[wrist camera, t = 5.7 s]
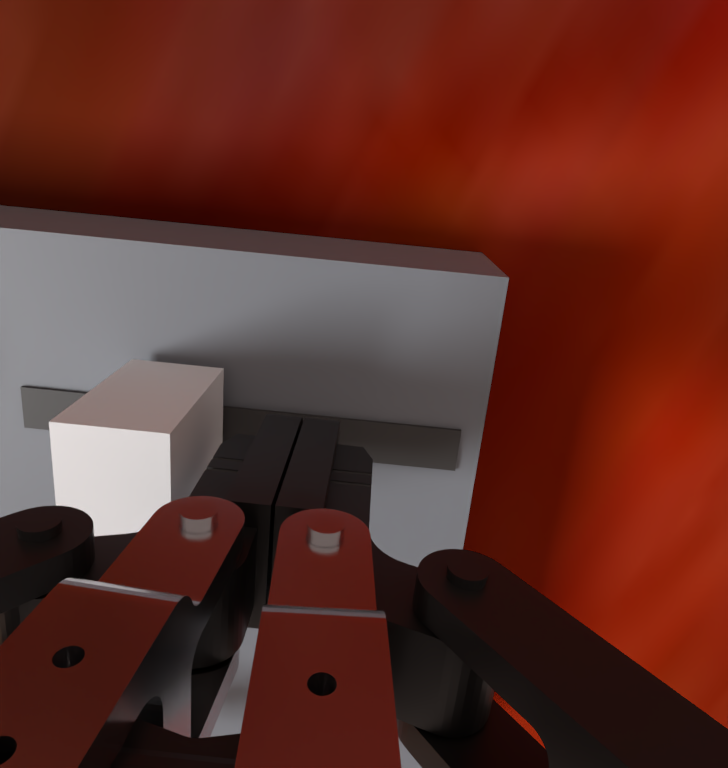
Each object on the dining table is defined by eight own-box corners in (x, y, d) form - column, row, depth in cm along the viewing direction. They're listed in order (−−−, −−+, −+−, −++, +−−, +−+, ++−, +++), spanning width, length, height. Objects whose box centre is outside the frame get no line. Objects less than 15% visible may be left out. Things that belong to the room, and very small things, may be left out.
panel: (482, 252, 17) (510, 278, 13) (411, 708, 22) (416, 823, 18) (-256, 180, 17) (-449, 183, 13) (-147, 650, 22) (-261, 753, 18)
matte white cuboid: (223, 368, 13) (169, 434, 10) (221, 490, 14) (172, 585, 11) (132, 359, 13) (48, 421, 10) (136, 481, 14) (61, 574, 11)
